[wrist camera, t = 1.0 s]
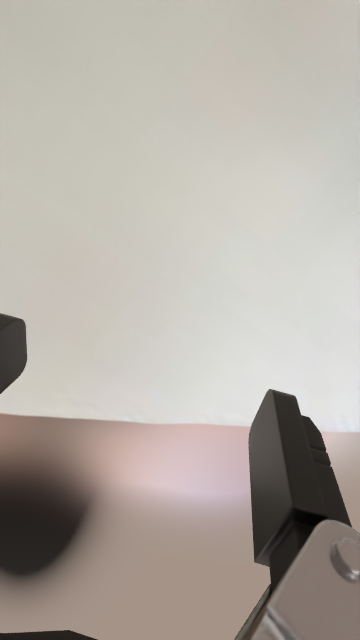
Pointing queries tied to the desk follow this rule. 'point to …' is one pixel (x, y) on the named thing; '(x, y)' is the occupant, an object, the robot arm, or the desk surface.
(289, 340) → the desk surface
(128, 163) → the desk surface
